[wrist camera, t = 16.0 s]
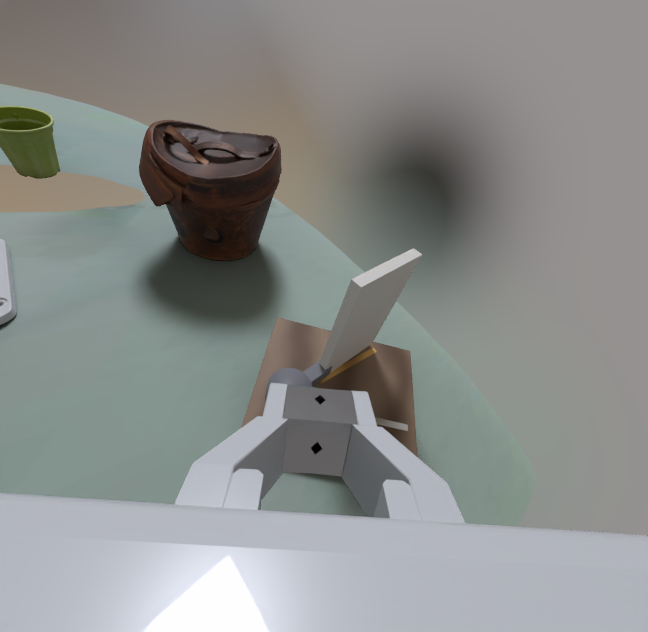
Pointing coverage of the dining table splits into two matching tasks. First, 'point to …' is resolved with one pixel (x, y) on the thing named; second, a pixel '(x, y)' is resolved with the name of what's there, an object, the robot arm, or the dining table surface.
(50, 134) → the plant pot
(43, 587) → the robot arm
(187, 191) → the case
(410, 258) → the white upright panel
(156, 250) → the dining table surface
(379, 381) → the dial board
